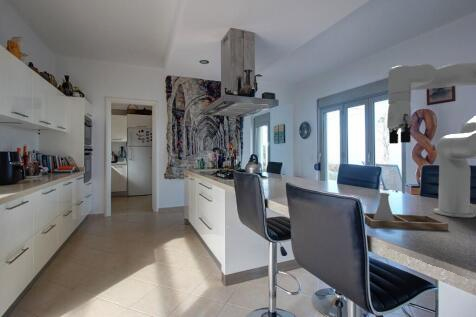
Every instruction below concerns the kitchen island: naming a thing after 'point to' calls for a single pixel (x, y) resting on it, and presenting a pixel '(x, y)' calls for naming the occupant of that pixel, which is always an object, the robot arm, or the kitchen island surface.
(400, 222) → the divider frame
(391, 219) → the flask
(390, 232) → the kitchen island surface
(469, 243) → the kitchen island surface
